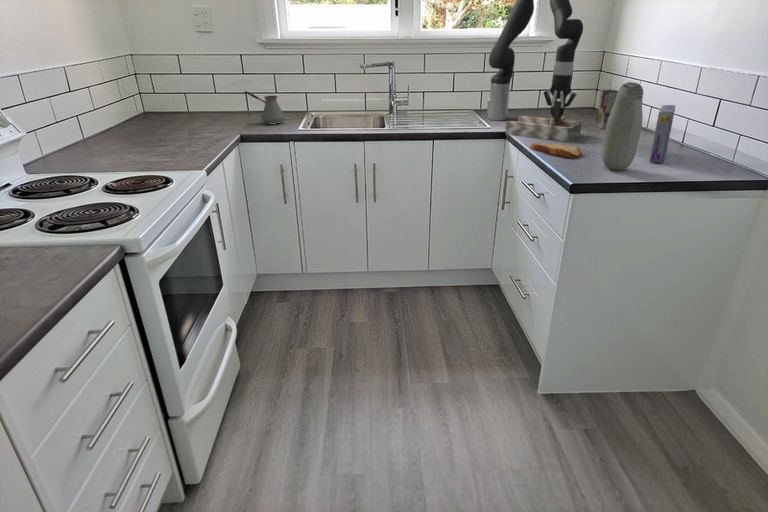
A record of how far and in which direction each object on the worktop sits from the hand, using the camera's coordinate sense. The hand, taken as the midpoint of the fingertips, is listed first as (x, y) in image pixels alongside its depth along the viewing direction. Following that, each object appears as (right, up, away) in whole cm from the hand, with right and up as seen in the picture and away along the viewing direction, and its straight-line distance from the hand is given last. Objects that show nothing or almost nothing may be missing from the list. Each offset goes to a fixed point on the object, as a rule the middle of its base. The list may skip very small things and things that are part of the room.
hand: (556, 116), depth 208 cm
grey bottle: (+5, -30, -42) cm, 52 cm away
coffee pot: (-134, +8, +39) cm, 140 cm away
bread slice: (-8, -20, -20) cm, 30 cm away
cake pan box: (+27, -24, -29) cm, 46 cm away
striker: (0, -5, +2) cm, 5 cm away
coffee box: (+29, 0, +18) cm, 34 cm away
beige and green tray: (-5, -6, +7) cm, 10 cm away
